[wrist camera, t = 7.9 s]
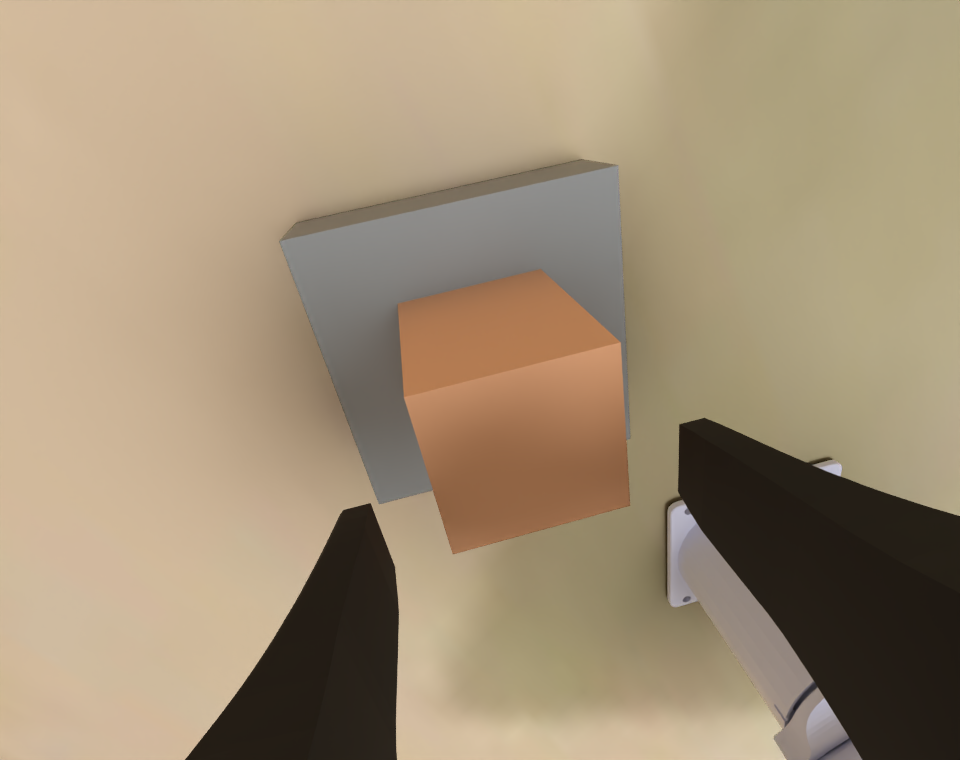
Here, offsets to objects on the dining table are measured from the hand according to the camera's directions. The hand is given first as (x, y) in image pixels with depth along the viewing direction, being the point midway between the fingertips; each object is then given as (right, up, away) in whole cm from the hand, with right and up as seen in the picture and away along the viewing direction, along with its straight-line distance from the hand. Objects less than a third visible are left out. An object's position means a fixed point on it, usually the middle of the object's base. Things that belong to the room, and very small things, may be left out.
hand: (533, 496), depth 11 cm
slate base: (-2, +5, +8) cm, 9 cm away
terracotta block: (-1, +4, +5) cm, 6 cm away
